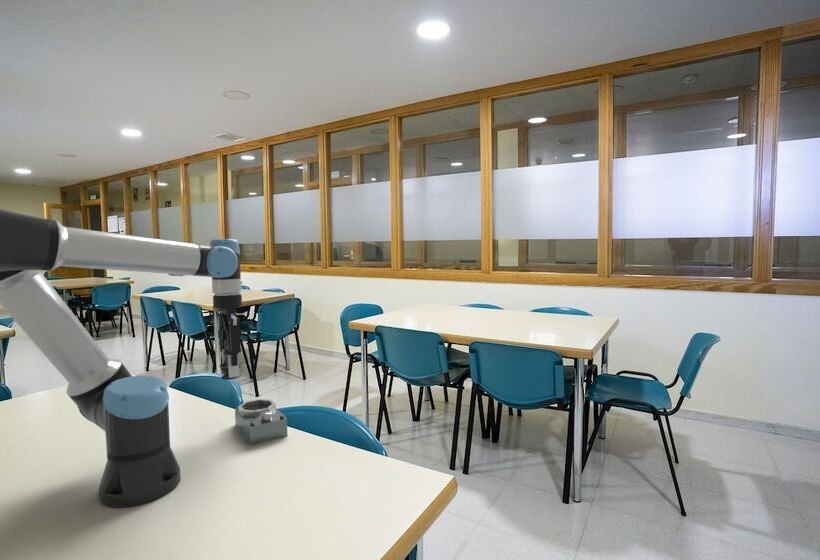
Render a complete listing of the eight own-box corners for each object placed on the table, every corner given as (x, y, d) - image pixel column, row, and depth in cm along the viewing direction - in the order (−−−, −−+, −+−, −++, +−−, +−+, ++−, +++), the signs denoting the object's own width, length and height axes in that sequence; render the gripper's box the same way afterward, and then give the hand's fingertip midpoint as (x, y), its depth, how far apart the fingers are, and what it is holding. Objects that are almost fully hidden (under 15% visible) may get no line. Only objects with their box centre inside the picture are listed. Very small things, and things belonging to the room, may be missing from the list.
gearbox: (287, 435, 121) (286, 411, 120) (250, 445, 115) (249, 419, 114) (269, 417, 134) (268, 395, 133) (235, 425, 128) (234, 401, 127)
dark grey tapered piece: (245, 373, 127) (243, 333, 126) (236, 380, 122) (234, 337, 121) (226, 373, 128) (224, 333, 127) (216, 379, 122) (213, 337, 121)
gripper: (251, 295, 117) (254, 379, 119) (231, 290, 132) (235, 364, 134) (221, 298, 113) (225, 384, 115) (205, 291, 128) (209, 368, 130)
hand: (231, 373), depth 125 cm, fingers closed on dark grey tapered piece, 6 cm apart
